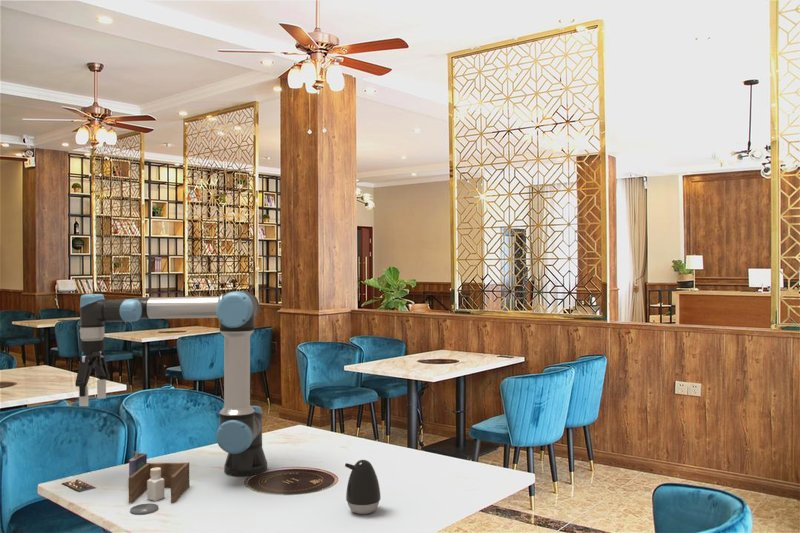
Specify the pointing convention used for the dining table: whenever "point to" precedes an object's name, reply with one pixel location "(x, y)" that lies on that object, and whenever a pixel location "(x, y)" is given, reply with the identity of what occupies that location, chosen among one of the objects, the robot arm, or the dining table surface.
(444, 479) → the dining table surface
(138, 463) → the flask
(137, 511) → the slate coaster
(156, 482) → the pepper shaker
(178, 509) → the dining table surface
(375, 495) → the pump dispenser
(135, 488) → the wooden u-shaped frame
